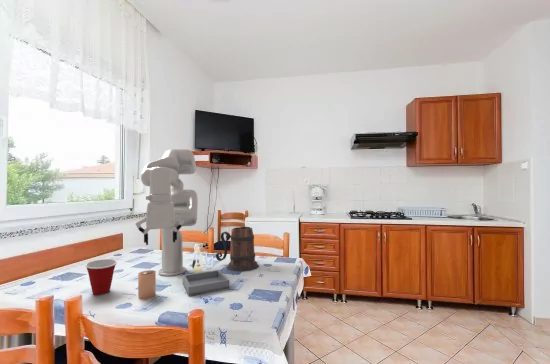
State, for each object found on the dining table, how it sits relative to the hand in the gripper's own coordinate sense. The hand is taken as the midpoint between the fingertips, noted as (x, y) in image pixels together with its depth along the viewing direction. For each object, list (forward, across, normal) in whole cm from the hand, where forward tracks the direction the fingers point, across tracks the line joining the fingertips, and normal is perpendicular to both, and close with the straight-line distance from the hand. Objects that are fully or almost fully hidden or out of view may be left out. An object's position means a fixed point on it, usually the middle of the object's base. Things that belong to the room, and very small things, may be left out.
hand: (160, 243), depth 106 cm
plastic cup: (+20, -21, +14) cm, 32 cm away
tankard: (+20, +38, +24) cm, 48 cm away
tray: (+20, +17, +2) cm, 26 cm away
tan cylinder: (+20, -5, +1) cm, 21 cm away
